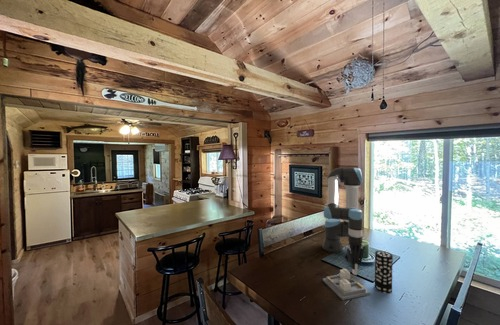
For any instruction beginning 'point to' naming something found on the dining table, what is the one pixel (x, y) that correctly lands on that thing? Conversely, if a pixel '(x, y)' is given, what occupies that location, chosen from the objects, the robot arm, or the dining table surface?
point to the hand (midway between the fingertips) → (354, 273)
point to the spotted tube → (383, 271)
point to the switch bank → (355, 291)
